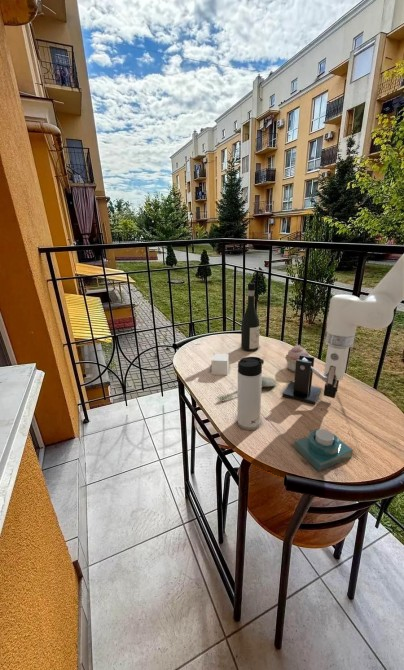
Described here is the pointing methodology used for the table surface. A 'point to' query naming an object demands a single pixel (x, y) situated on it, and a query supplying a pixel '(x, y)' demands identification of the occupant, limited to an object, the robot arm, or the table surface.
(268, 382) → the soupspoon
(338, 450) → the plate
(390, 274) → the robot arm
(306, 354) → the cupcake
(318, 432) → the flush button
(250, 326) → the wine bottle
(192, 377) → the table surface
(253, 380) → the travel mug
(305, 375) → the lever bracket
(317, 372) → the flush lever
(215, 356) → the white cube
